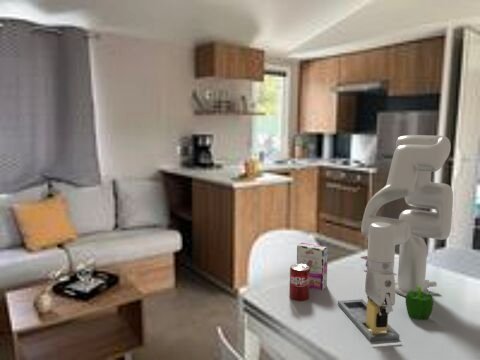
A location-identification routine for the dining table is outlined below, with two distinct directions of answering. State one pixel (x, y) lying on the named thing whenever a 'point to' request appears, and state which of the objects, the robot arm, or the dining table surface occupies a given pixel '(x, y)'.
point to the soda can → (299, 282)
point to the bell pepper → (419, 304)
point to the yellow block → (374, 316)
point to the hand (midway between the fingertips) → (377, 321)
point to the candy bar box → (314, 263)
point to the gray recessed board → (358, 315)
